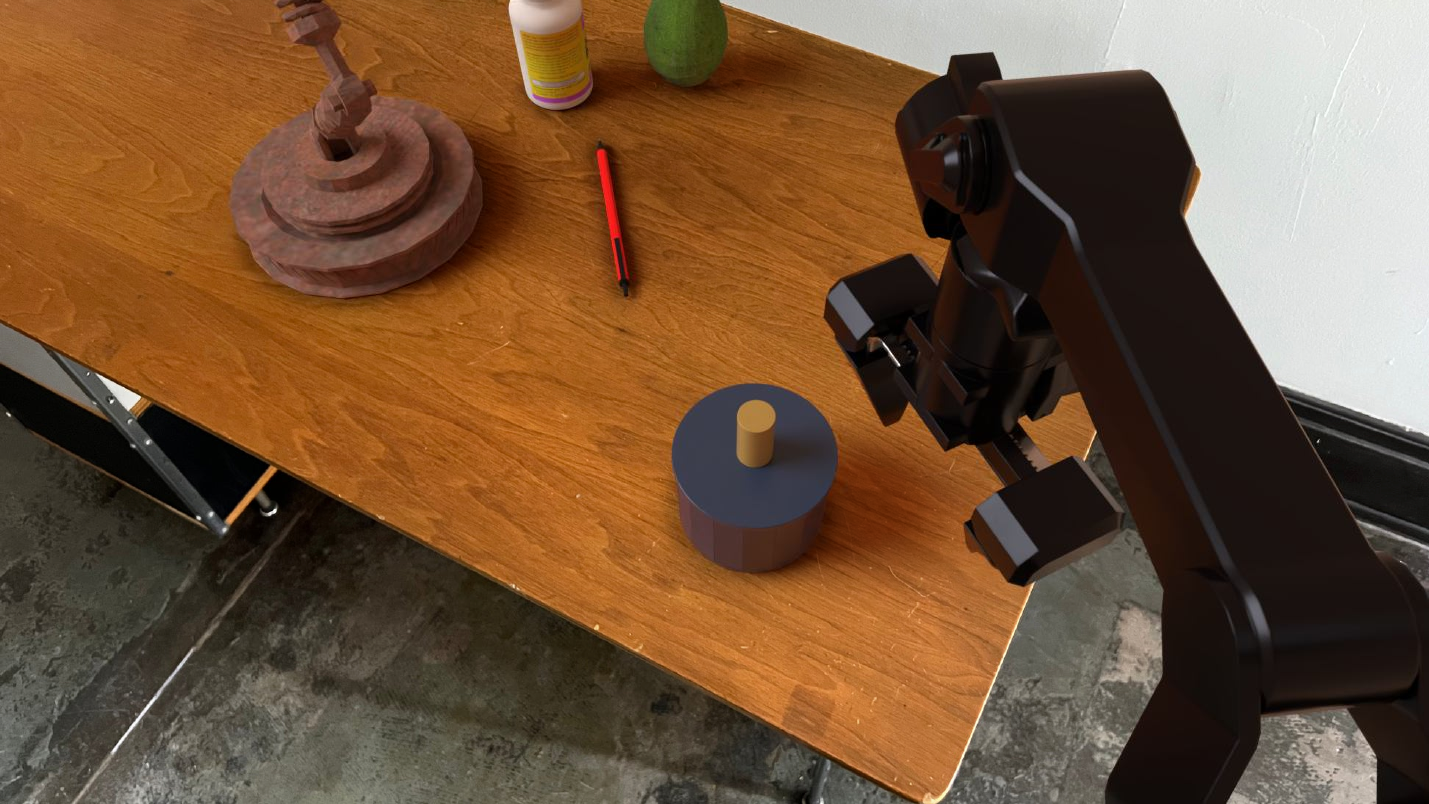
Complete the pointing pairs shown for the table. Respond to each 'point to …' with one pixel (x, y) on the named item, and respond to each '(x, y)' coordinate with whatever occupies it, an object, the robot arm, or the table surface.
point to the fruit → (685, 39)
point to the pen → (613, 218)
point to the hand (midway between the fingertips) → (932, 482)
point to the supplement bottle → (552, 51)
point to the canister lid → (754, 457)
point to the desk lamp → (354, 182)
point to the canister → (749, 540)
